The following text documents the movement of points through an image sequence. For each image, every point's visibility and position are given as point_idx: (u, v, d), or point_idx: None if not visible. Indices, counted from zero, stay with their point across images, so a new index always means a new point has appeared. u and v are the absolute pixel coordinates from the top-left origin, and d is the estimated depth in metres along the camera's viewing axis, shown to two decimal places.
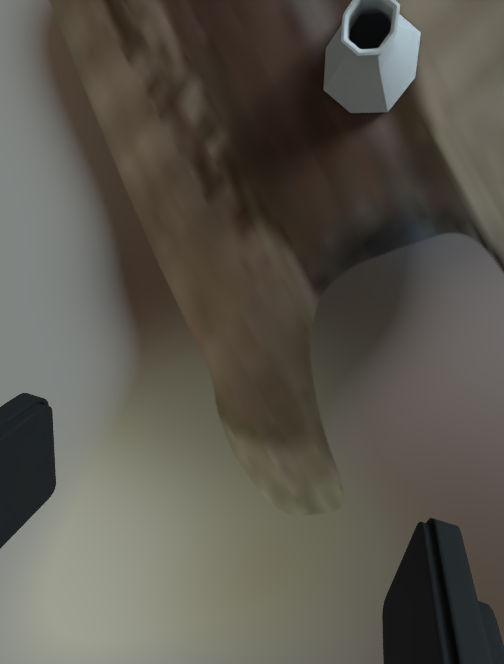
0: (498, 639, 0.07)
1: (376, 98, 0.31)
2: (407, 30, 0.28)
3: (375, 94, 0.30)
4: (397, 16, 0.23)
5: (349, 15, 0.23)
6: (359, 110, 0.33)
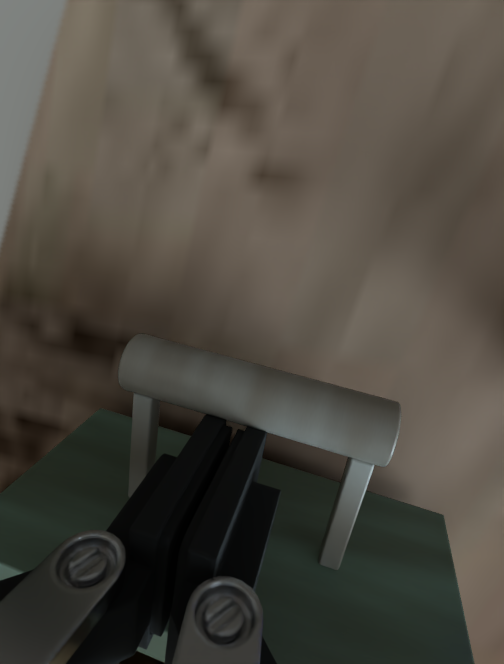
0: (272, 508, 0.09)
1: None
2: None
3: None
4: None
5: None
6: None
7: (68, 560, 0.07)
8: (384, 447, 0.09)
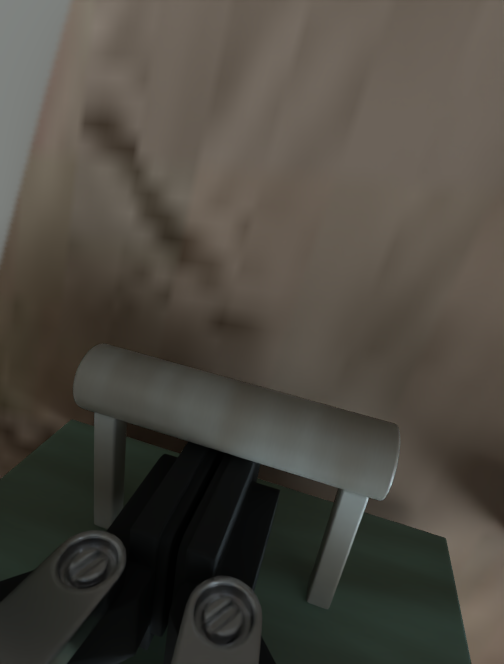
0: (271, 508, 0.09)
1: None
2: None
3: None
4: None
5: None
6: None
7: (69, 560, 0.07)
8: (380, 480, 0.08)
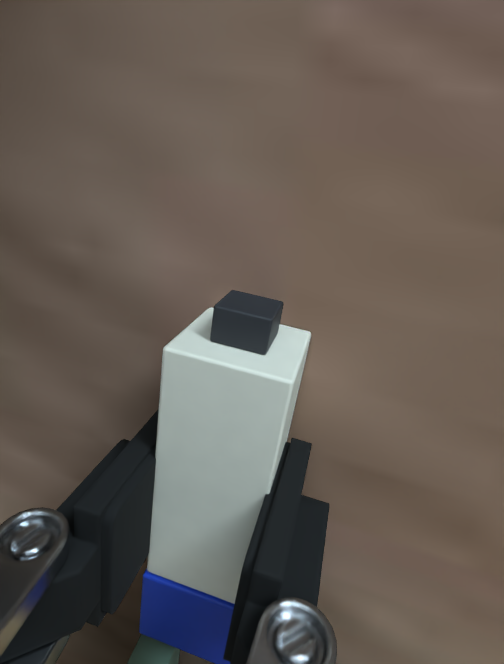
0: (323, 523, 0.09)
1: None
2: None
3: None
4: None
5: None
6: None
7: (13, 536, 0.07)
8: None
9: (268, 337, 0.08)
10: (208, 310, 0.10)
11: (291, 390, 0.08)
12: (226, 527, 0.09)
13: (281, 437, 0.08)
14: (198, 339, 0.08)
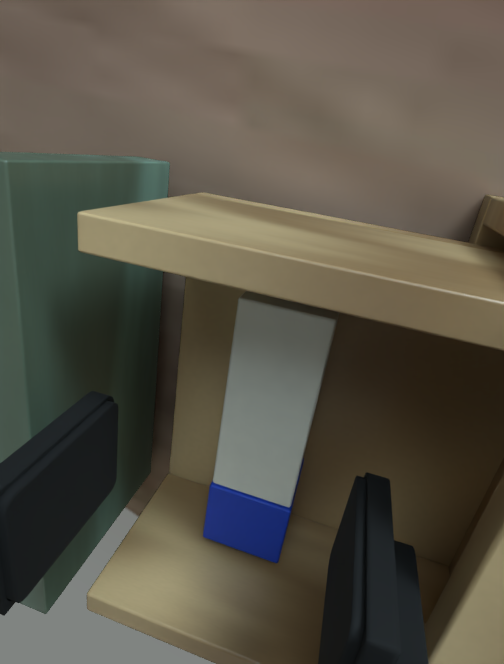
0: (414, 571, 0.08)
1: None
2: None
3: None
4: None
5: None
6: None
7: None
8: None
9: None
10: None
11: (335, 327, 0.10)
12: (279, 440, 0.12)
13: (325, 364, 0.11)
14: None
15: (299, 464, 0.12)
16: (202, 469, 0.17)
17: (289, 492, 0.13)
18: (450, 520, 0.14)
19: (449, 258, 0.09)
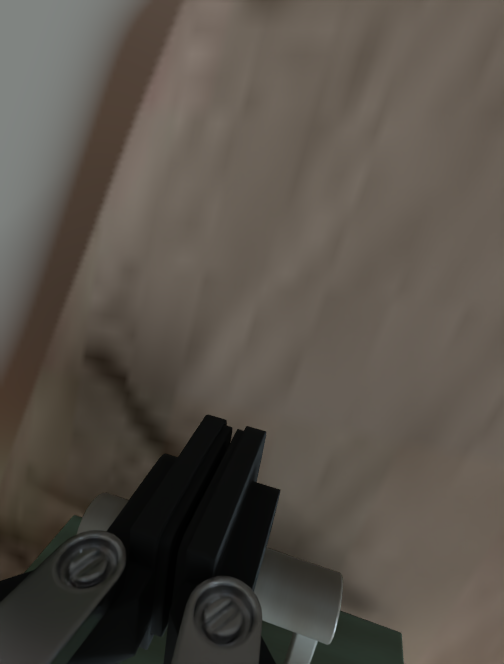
0: (271, 508, 0.09)
1: None
2: None
3: None
4: None
5: None
6: None
7: (69, 560, 0.07)
8: (324, 633, 0.10)
9: None
10: None
11: None
12: None
13: None
14: None
15: None
16: None
17: None
18: None
19: None
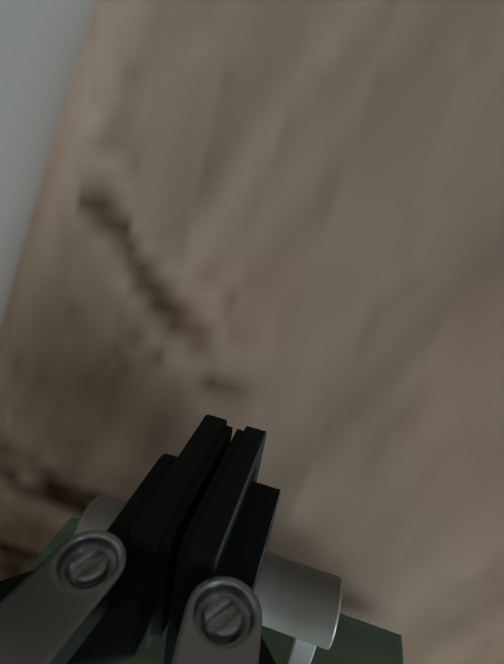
0: (271, 507, 0.09)
1: None
2: None
3: None
4: None
5: None
6: None
7: (69, 560, 0.07)
8: (323, 638, 0.10)
9: None
10: None
11: None
12: None
13: None
14: None
15: None
16: None
17: None
18: None
19: None
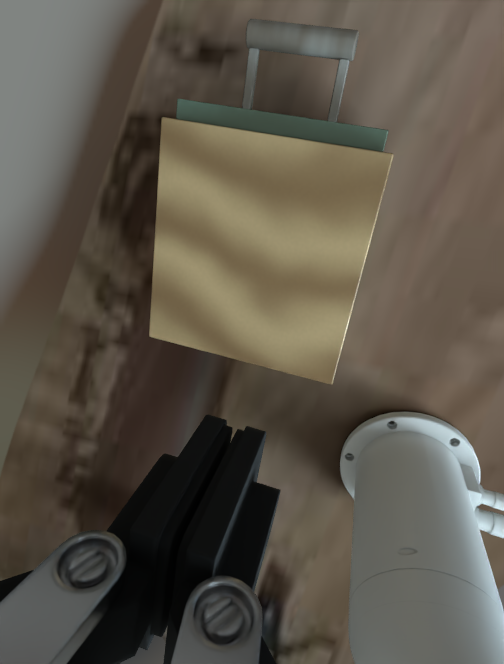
0: (271, 508, 0.09)
1: None
2: None
3: None
4: None
5: None
6: None
7: (69, 560, 0.07)
8: (351, 40, 0.25)
9: None
10: None
11: None
12: None
13: None
14: None
15: None
16: None
17: None
18: None
19: None
